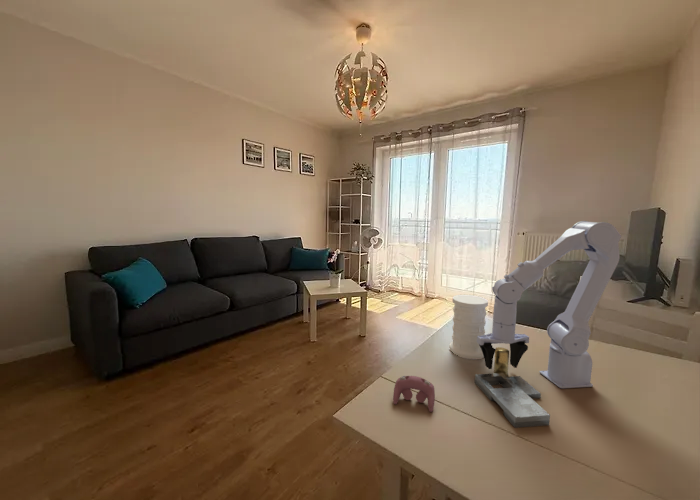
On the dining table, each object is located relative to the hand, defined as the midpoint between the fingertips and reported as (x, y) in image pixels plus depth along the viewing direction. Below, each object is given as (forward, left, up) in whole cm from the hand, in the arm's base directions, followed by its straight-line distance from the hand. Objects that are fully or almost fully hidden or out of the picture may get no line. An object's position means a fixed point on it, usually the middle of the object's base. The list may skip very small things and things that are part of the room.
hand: (501, 366), depth 85 cm
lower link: (+4, +8, -2) cm, 9 cm away
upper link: (+6, +13, -2) cm, 14 cm away
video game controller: (+29, +11, -2) cm, 31 cm away
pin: (0, 0, -2) cm, 2 cm away
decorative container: (+3, -14, -2) cm, 14 cm away
